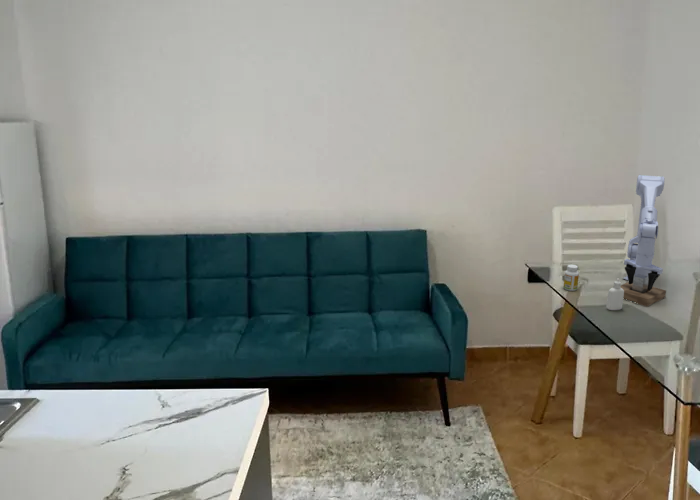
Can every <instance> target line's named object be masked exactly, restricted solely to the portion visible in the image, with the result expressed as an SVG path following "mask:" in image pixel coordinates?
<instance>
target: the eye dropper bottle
mask: <svg viewBox="0 0 700 500" xmlns="http://www.w3.org/2000/svg"><path fill="white" fill-rule="evenodd" d="M621 285H622V282H621V281H620V278H616V280H614V281H613V287H611V288H609V289H608V291H607V297H606V298H607V299H606V306H605V307H606V309H607V310H608V311H620V310H621V309H623V303H624V299H623V297H624V290H623V289H622V288H620V287H621Z"/></svg>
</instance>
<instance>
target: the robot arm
mask: <svg viewBox="0 0 700 500" xmlns="http://www.w3.org/2000/svg"><path fill="white" fill-rule="evenodd" d="M635 186H636V187H635V194H636V195H637V196H639V197H640V207H639V210H640V211H639V218H638V226H637V232H636V233H637V234H636V236H634V237H632V238H630V239H629V242H628V246H627V251H626V253H627V255H626V256H627V258H626V259H624V261H623V266H624V271H625V272H626V276H625V277H623V280H626V281H628V282H629V284H632V283H633V279H634V276H635V275H637V274H642V275H645V276H648V288H647V289H648V290H650V289H652V287H654V284H655V283H656V281H657V280H658V278H659V276H660V275H662V274H663V272H664V271H663V270H664V268H662V267H659V266H657V265H654V264H653V259H654V255H655V244H656V239H657V238H658V236H659V235H658V234H659V221H658V209H657V208H656V207H655V204H656V198H657V197H661V194H662V193H663V191H664V188H665V176H663V175H662V176H661V175H660V176H658V175H642V174H638V176H637V177H636V185H635ZM628 258H629V259H628Z"/></svg>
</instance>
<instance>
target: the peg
mask: <svg viewBox="0 0 700 500" xmlns="http://www.w3.org/2000/svg"><path fill="white" fill-rule="evenodd" d="M647 287H648V276H645V275H642V274H637V275H635V276H634V279H633V286H632V290H633V291H636V292H639V293H642V294H644V293H646V292H647Z"/></svg>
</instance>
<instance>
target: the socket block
mask: <svg viewBox="0 0 700 500" xmlns="http://www.w3.org/2000/svg"><path fill="white" fill-rule="evenodd" d="M632 286H633V283H632V284H629V281H628V282H625V283H623V284H621V287H620V288H622V289H623V290H624V297H623V298H624V299H627V300H630V301H634V302H636V303H635V304H637V303H638V304H637V305H641V306H644V307H646V308H647V307H649V306H651V305H653V304H655V303H657V302H659V301H661V300H663V299H665V298H666V294H667V290H666V289H662V288H659V287H656V286H653V287H652V289H650V290H648V289H647V292H646V293H644V294H642V293H639V292H636V291H633V290H632ZM647 288H648V287H647ZM664 297H665V298H664ZM624 299H623V300H624ZM627 300H626V301H627ZM630 301H629V302H630Z"/></svg>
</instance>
